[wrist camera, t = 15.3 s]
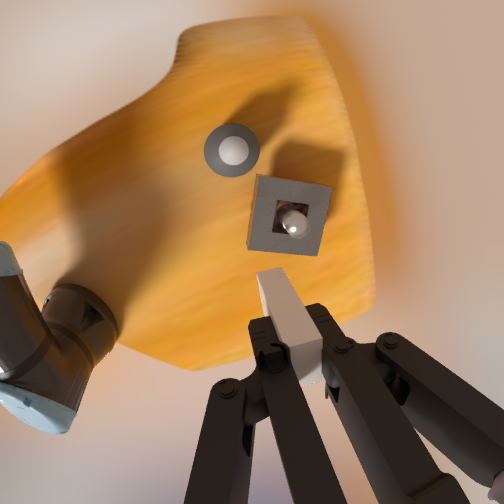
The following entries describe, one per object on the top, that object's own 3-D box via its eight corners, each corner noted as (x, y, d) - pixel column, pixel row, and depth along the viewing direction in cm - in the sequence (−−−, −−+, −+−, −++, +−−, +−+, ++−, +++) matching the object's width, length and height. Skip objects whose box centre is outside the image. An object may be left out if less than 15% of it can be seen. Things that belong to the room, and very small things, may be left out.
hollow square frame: (246, 243, 35) (248, 250, 33) (256, 173, 32) (259, 175, 30) (311, 249, 37) (317, 256, 34) (325, 184, 33) (332, 187, 31)
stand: (204, 169, 34) (198, 178, 25) (209, 125, 32) (206, 116, 22) (249, 174, 35) (260, 185, 26) (256, 130, 33) (270, 124, 23)
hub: (246, 234, 38) (255, 260, 30) (255, 174, 35) (267, 183, 27) (303, 240, 39) (325, 266, 31) (315, 183, 36) (342, 195, 28)
